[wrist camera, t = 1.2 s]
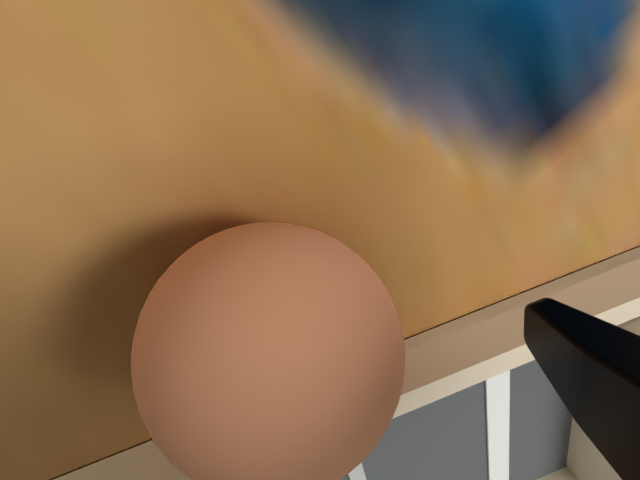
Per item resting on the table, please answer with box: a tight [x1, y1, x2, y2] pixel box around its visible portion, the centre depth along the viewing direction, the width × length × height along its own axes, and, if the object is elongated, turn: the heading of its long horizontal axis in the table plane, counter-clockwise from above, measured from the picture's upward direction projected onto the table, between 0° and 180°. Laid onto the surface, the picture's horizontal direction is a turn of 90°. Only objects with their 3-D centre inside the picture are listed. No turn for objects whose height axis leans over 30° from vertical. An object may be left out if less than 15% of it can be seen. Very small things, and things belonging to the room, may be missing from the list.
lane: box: [53, 247, 640, 480], centre depth 18 cm, size 11×26×8 cm, turn 103°
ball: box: [130, 222, 405, 480], centre depth 10 cm, size 5×5×5 cm
